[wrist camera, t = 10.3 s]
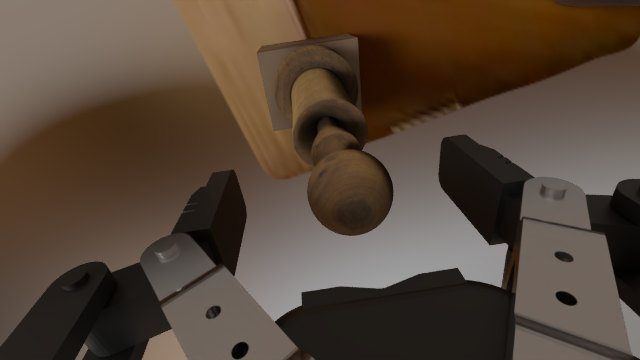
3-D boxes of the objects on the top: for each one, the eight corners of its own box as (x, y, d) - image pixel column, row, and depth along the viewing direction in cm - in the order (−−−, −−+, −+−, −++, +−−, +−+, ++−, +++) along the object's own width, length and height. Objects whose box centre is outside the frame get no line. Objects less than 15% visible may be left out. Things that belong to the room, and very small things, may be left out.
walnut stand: (346, 33, 28) (357, 37, 23) (352, 102, 31) (362, 117, 27) (261, 46, 28) (256, 52, 23) (275, 114, 31) (273, 130, 27)
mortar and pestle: (275, 123, 26) (256, 289, 11) (273, 43, 23) (241, 111, 7) (350, 124, 27) (433, 282, 11) (357, 46, 24) (489, 116, 8)
